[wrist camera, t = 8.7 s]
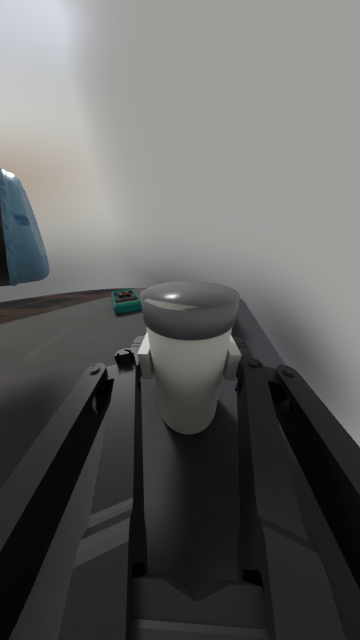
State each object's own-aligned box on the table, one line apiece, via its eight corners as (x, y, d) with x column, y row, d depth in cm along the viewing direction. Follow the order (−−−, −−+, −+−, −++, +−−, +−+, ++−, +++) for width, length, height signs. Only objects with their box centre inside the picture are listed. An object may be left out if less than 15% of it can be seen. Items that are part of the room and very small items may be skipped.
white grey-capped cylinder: (149, 427, 12) (118, 307, 7) (167, 373, 18) (159, 280, 12) (218, 443, 11) (253, 316, 6) (215, 380, 17) (232, 282, 11)
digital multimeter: (134, 295, 48) (132, 287, 47) (144, 310, 37) (142, 300, 35) (112, 299, 45) (110, 290, 44) (115, 316, 34) (112, 305, 32)
